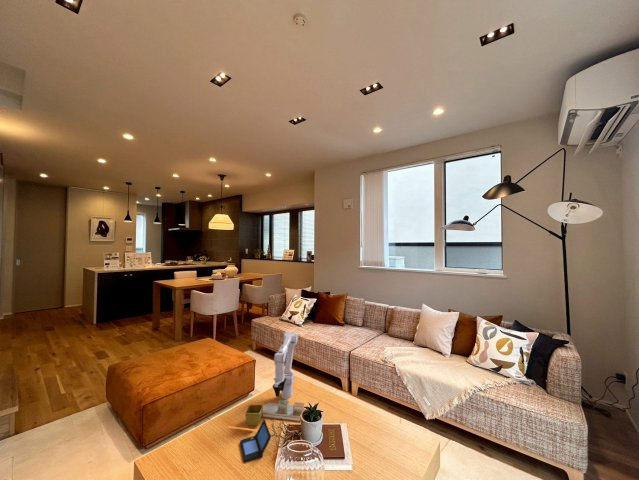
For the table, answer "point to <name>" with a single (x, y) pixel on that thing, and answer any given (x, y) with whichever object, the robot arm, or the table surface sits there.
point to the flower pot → (253, 414)
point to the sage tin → (283, 407)
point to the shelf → (272, 412)
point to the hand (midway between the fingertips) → (279, 393)
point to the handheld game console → (255, 444)
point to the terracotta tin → (298, 408)
